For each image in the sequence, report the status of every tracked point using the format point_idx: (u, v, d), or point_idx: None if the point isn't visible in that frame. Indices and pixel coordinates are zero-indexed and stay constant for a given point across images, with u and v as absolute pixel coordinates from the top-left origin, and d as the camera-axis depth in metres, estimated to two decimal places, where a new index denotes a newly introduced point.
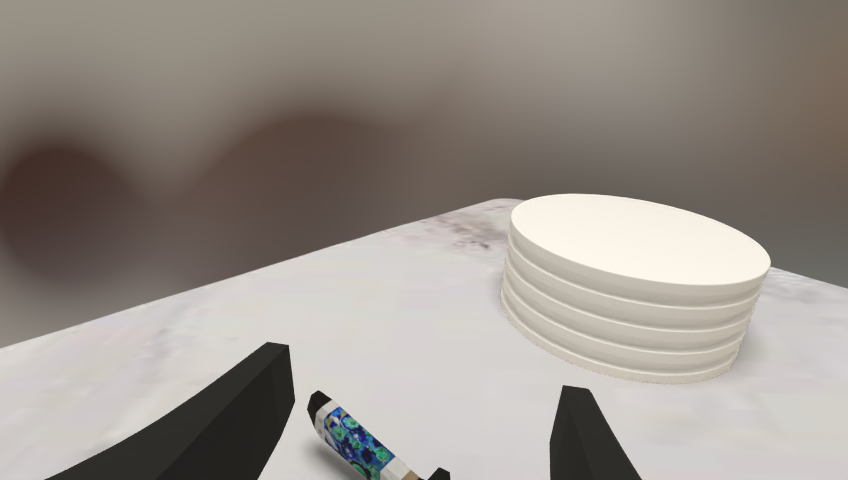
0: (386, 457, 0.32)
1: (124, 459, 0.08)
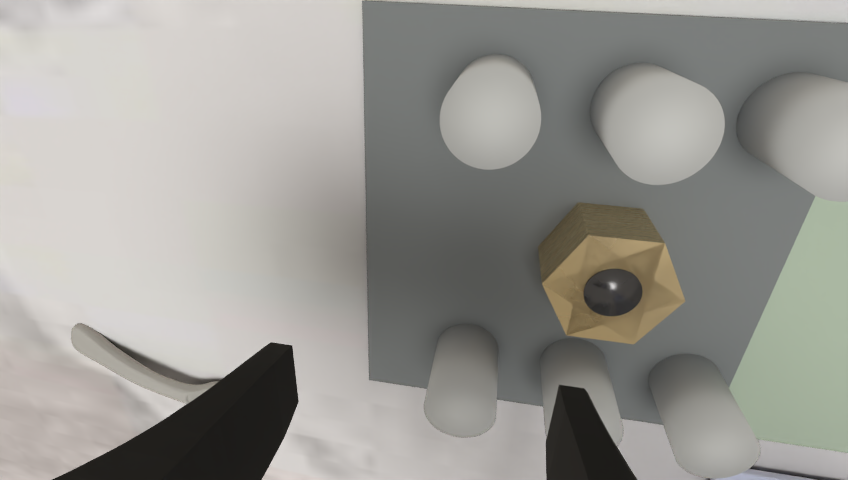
0: None
1: (129, 460, 0.08)
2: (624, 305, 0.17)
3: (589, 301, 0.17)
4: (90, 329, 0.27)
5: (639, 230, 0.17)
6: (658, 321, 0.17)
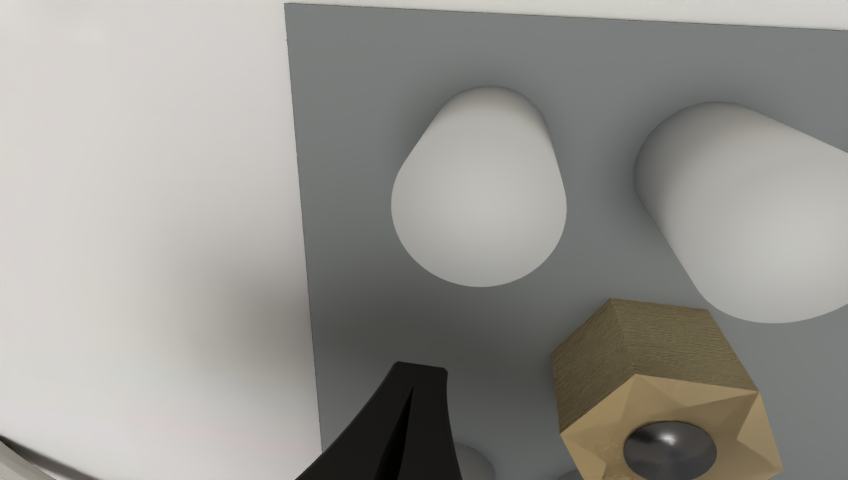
0: None
1: None
2: (686, 470, 0.11)
3: (632, 461, 0.11)
4: None
5: (712, 360, 0.11)
6: None
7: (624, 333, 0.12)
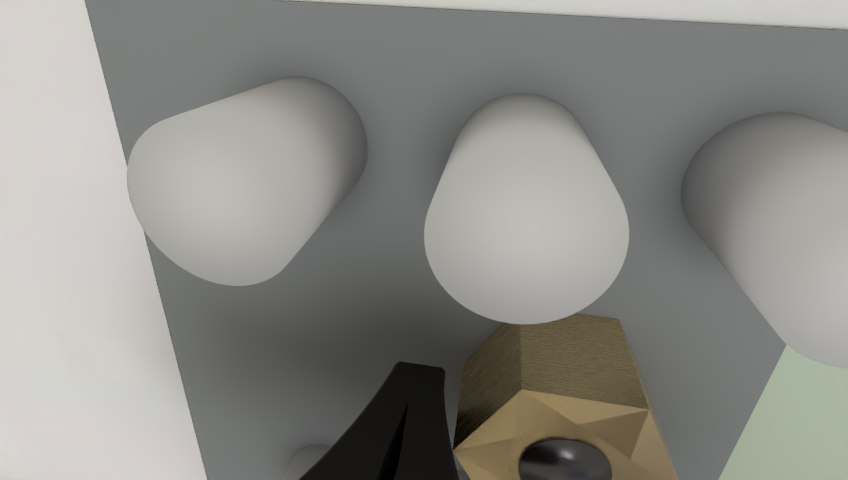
0: None
1: None
2: None
3: (528, 479, 0.11)
4: None
5: (608, 375, 0.10)
6: None
7: (522, 344, 0.11)
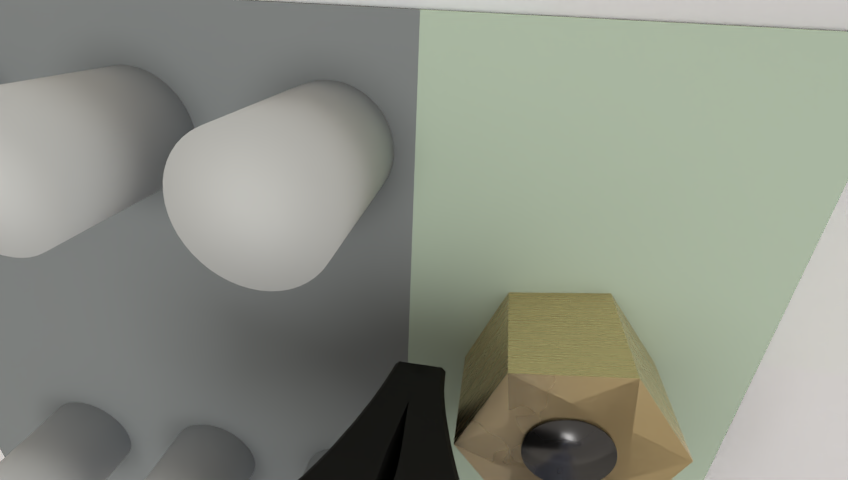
0: None
1: None
2: (592, 470, 0.10)
3: (534, 466, 0.11)
4: None
5: (597, 349, 0.10)
6: None
7: (510, 329, 0.11)
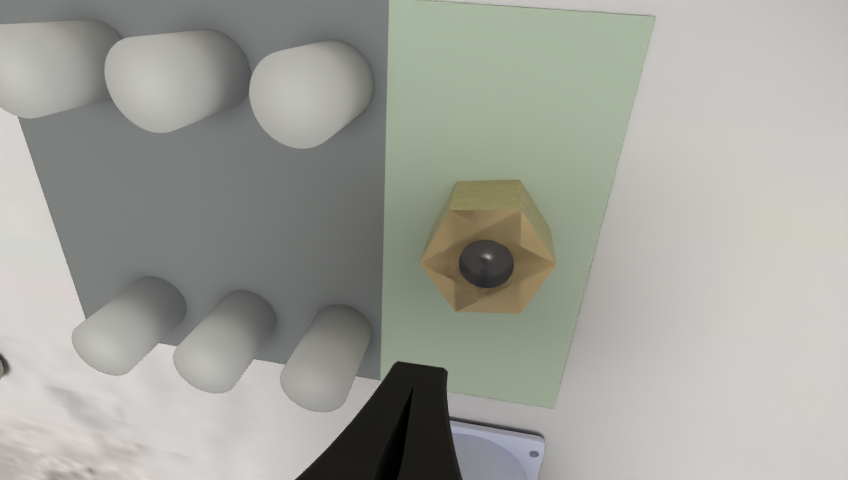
0: None
1: None
2: (501, 276, 0.17)
3: (467, 275, 0.18)
4: None
5: (503, 200, 0.17)
6: (537, 287, 0.17)
7: (454, 195, 0.18)
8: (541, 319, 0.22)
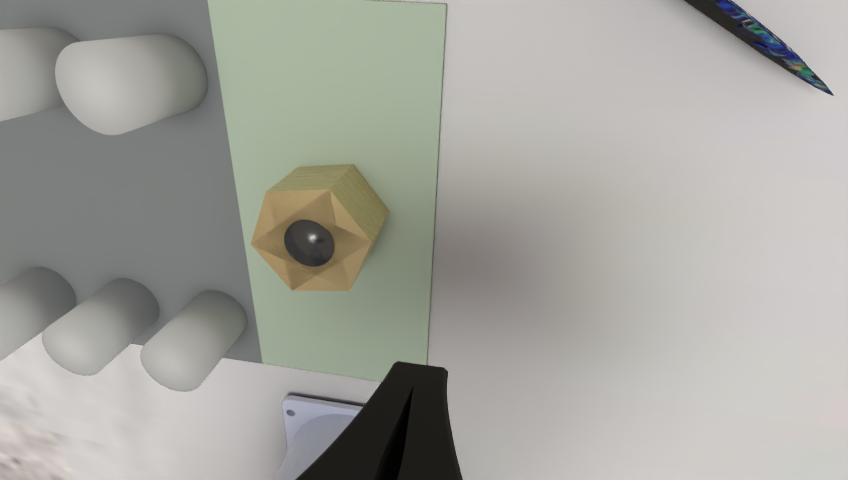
0: None
1: None
2: (325, 254, 0.18)
3: (294, 254, 0.19)
4: None
5: (321, 181, 0.18)
6: (359, 265, 0.18)
7: (283, 178, 0.19)
8: (397, 299, 0.22)
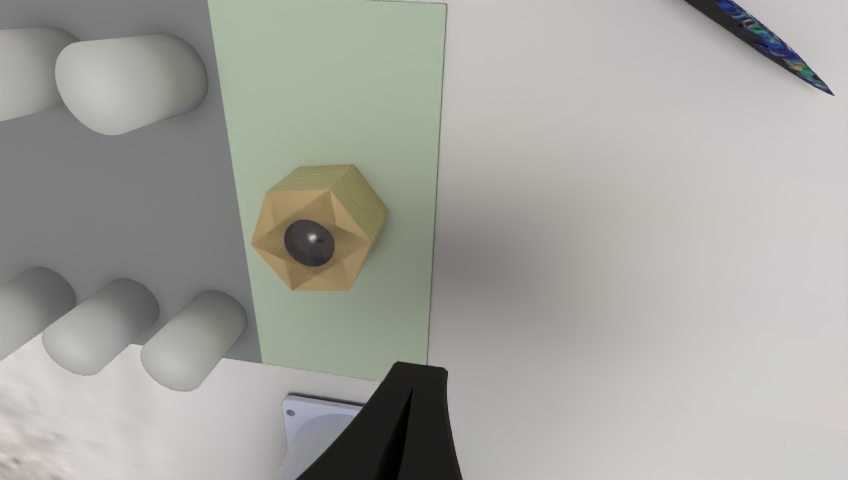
0: None
1: None
2: (325, 254, 0.18)
3: (294, 254, 0.19)
4: None
5: (321, 181, 0.18)
6: (359, 265, 0.18)
7: (283, 178, 0.19)
8: (397, 299, 0.22)
